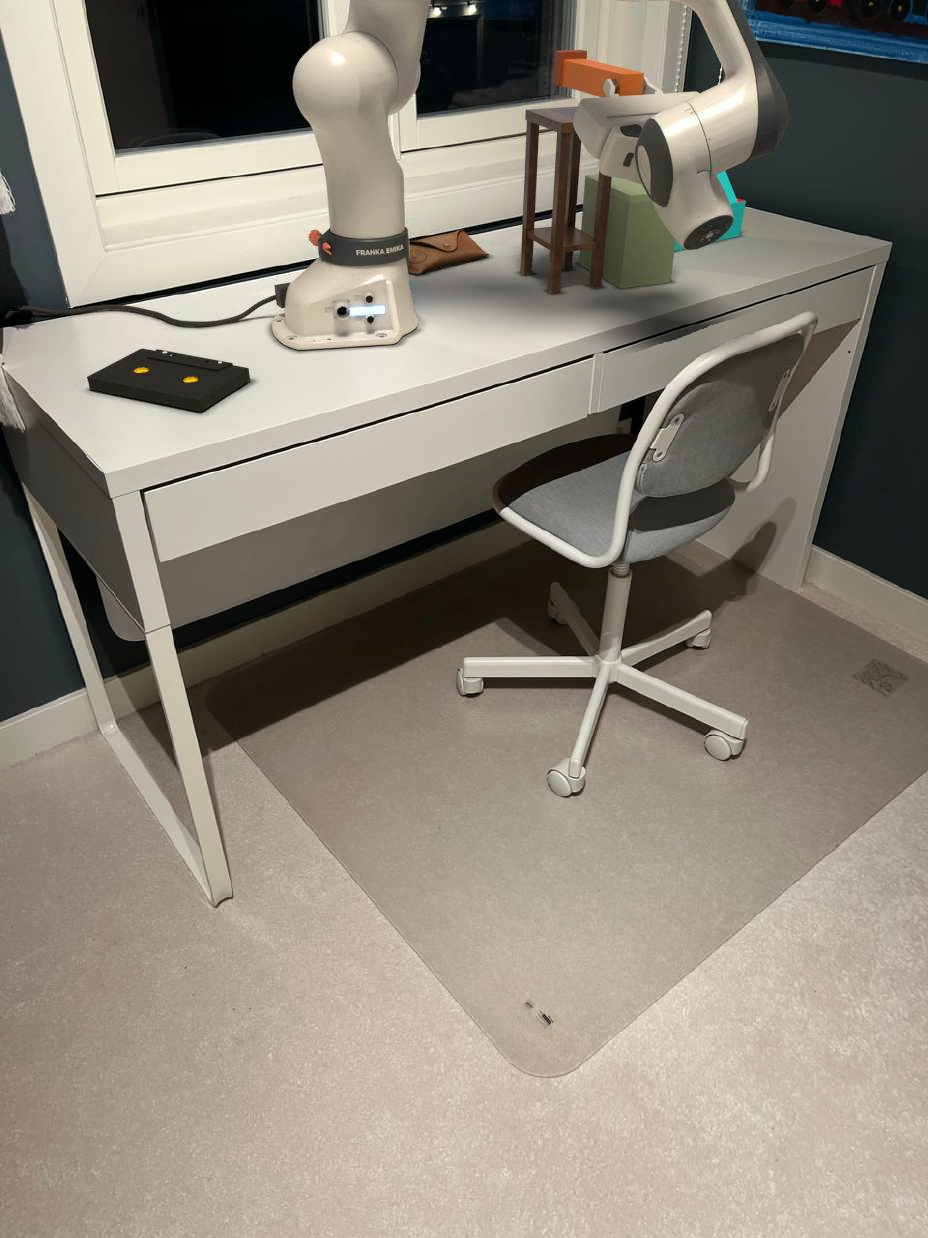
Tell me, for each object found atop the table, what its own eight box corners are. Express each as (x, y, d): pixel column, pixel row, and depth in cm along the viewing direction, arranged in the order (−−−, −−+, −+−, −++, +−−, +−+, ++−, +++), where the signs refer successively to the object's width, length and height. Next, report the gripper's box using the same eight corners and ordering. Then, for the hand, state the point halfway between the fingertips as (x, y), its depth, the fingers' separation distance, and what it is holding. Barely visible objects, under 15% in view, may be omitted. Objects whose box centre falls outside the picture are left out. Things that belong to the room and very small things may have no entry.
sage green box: (620, 288, 163) (630, 195, 154) (578, 263, 174) (585, 175, 165) (670, 282, 166) (682, 190, 157) (625, 257, 177) (635, 170, 168)
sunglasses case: (419, 273, 167) (406, 235, 166) (398, 286, 173) (385, 249, 171) (493, 254, 177) (481, 218, 175) (471, 266, 183) (459, 232, 181)
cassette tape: (251, 381, 130) (249, 366, 129) (201, 413, 121) (198, 397, 120) (144, 360, 135) (141, 346, 134) (89, 390, 127) (85, 375, 126)
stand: (551, 294, 160) (561, 122, 145) (518, 272, 170) (525, 109, 154) (603, 287, 163) (619, 118, 148) (568, 266, 173) (580, 105, 157)
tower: (616, 102, 135) (619, 65, 132) (553, 84, 150) (555, 50, 147) (644, 101, 136) (648, 64, 134) (579, 82, 151) (581, 49, 148)
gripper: (735, 125, 132) (694, 58, 136) (605, 135, 125) (567, 64, 130) (715, 164, 137) (677, 97, 142) (590, 175, 131) (554, 105, 136)
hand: (623, 81), depth 136 cm, fingers closed on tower, 3 cm apart
